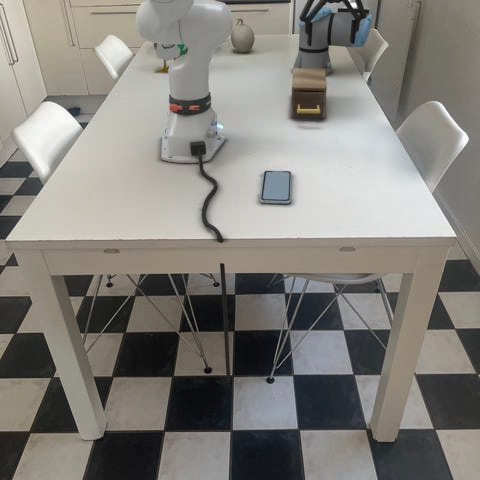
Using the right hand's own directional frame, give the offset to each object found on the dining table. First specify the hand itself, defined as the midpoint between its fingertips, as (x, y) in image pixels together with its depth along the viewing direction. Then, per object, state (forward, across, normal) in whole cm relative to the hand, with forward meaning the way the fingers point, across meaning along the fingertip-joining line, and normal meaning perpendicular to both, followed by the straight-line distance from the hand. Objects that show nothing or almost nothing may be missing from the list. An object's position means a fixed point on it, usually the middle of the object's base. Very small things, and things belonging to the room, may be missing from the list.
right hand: (330, 44), depth 161 cm
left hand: (-22, +35, -8) cm, 41 cm away
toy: (+21, +52, -51) cm, 76 cm away
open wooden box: (+21, +6, -2) cm, 22 cm away
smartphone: (+21, +24, +52) cm, 61 cm away
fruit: (+22, +21, -74) cm, 80 cm away
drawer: (+20, +7, +3) cm, 22 cm away
